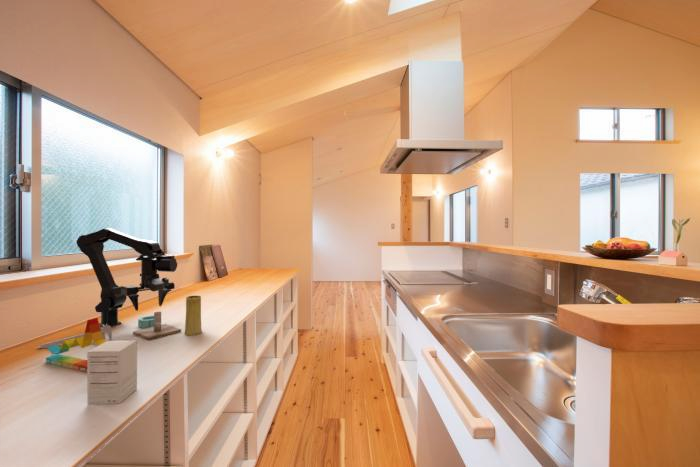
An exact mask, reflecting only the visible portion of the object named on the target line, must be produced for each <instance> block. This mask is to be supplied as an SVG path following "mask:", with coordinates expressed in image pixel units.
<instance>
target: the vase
mask: <svg viewBox="0 0 700 467" xmlns="http://www.w3.org/2000/svg"><path fill="white" fill-rule="evenodd" d="M201 296H202V295H198V294H197V295H195V294H194V295H188V296H186V298H185V320H184V321H185V323H184V325H185V326H184V328H185V329H184V335H186V336H194V335H199V334H201V333H202V332H203V331H202V330H203V329H202V297H201Z"/></svg>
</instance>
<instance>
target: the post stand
mask: <svg viewBox="0 0 700 467" xmlns="http://www.w3.org/2000/svg"><path fill="white" fill-rule="evenodd" d="M153 316H154V327H149V328H141V329H138V330H134V331H132V332H133V333H132V334H133V335H135V336H137V337H139V338H142V339H144V340H148V341H151V340H156V339H159V338H163V337H167V336H171V335H174V334H178V333H181V332H182V328H179V327H175V326H174V325H170V324H167V323H164V324H162V311H156V312H154V313H153Z"/></svg>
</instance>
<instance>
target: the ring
mask: <svg viewBox="0 0 700 467" xmlns="http://www.w3.org/2000/svg"><path fill="white" fill-rule="evenodd" d="M137 327H139V328H141V329H146V328H150V327H154V315H147V316H141V317H140V318H138V321H137Z"/></svg>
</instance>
